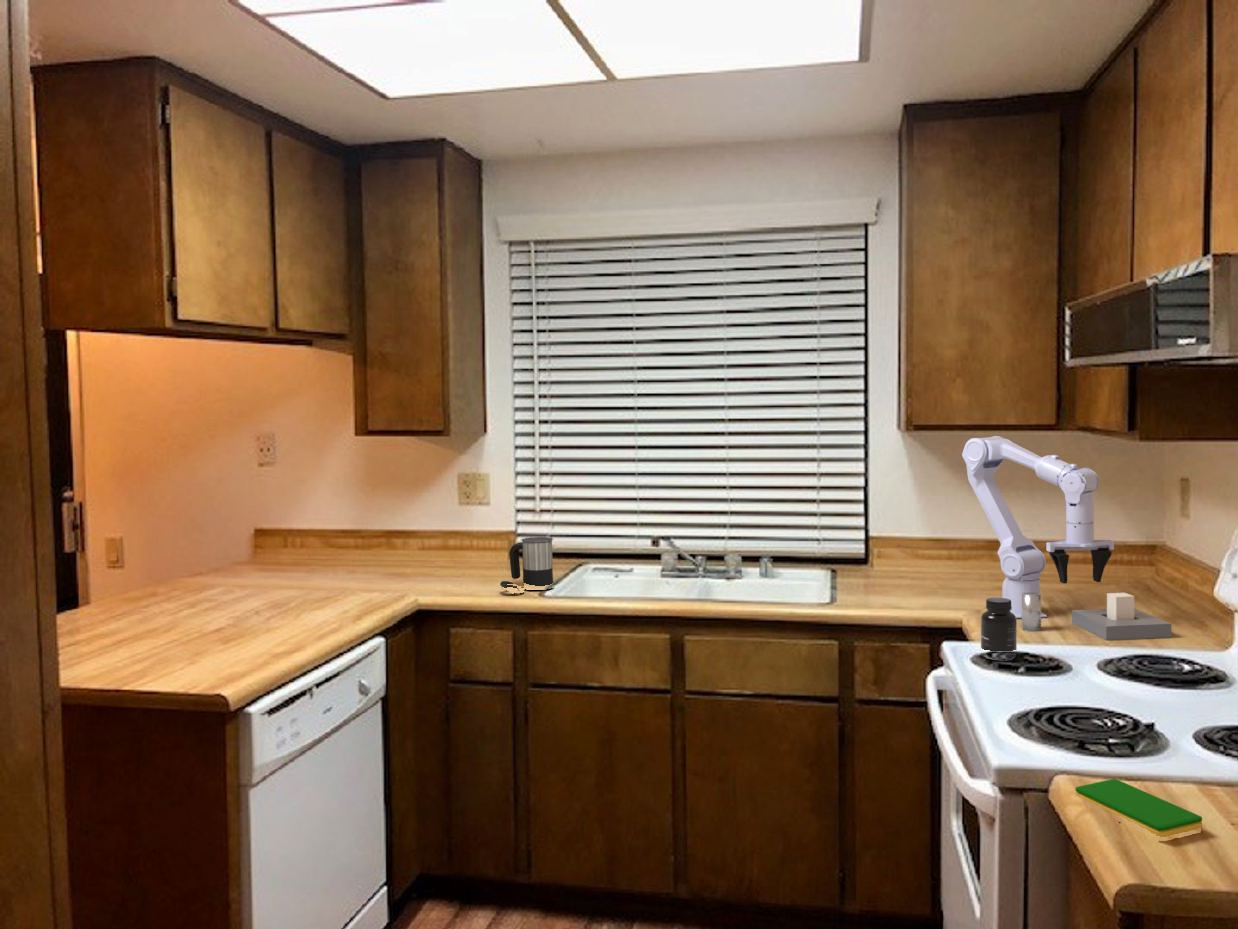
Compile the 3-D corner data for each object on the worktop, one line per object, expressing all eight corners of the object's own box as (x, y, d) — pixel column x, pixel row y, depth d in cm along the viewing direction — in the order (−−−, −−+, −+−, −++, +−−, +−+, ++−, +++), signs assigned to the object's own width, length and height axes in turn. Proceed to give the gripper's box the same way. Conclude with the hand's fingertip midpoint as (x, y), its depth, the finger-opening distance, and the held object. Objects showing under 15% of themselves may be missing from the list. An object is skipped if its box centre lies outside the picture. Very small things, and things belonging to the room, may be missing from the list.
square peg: (1107, 628, 227) (1106, 593, 227) (1124, 628, 227) (1124, 592, 227) (1116, 633, 223) (1116, 597, 223) (1134, 632, 223) (1134, 596, 223)
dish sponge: (1114, 795, 139) (1114, 777, 139) (1204, 836, 126) (1204, 816, 126) (1073, 804, 136) (1073, 786, 136) (1160, 847, 123) (1160, 827, 123)
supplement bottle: (974, 658, 207) (974, 600, 206) (990, 651, 212) (989, 594, 211) (1007, 664, 202) (1007, 604, 201) (1022, 657, 207) (1022, 598, 206)
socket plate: (1071, 623, 233) (1071, 610, 233) (1132, 620, 234) (1132, 607, 233) (1106, 640, 217) (1106, 626, 217) (1171, 637, 218) (1171, 623, 217)
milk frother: (558, 585, 302) (556, 536, 301) (545, 596, 287) (543, 544, 286) (511, 585, 305) (509, 536, 304) (496, 596, 289) (494, 545, 288)
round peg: (1019, 627, 231) (1018, 592, 231) (1036, 626, 231) (1036, 592, 231) (1026, 631, 227) (1026, 596, 227) (1044, 631, 227) (1044, 595, 227)
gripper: (1055, 526, 226) (1056, 586, 227) (1120, 523, 226) (1120, 584, 227) (1042, 521, 233) (1042, 580, 234) (1105, 519, 233) (1105, 578, 234)
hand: (1080, 582), depth 231 cm, fingers open, 7 cm apart
